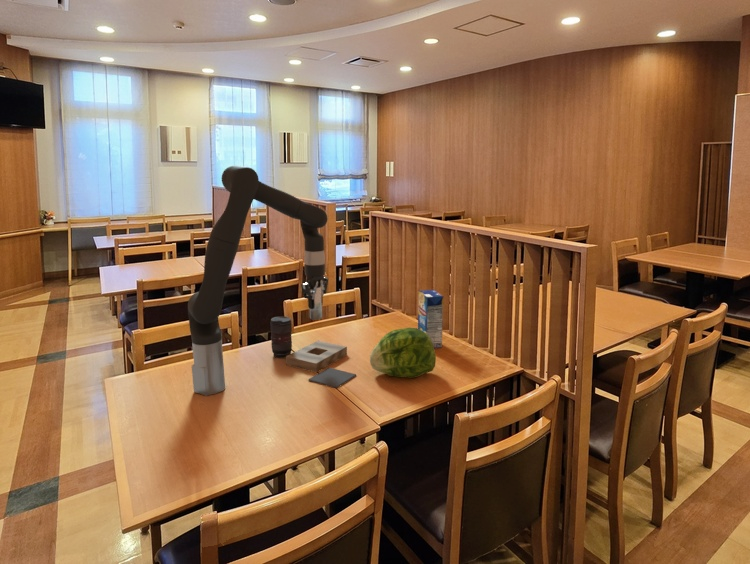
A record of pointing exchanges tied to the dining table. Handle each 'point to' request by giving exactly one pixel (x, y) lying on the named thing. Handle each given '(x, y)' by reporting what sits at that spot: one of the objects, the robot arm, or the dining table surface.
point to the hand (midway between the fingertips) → (315, 306)
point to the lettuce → (404, 353)
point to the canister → (316, 305)
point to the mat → (332, 377)
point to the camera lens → (281, 336)
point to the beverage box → (431, 315)
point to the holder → (316, 356)
